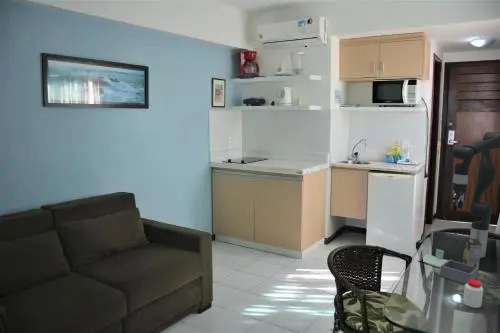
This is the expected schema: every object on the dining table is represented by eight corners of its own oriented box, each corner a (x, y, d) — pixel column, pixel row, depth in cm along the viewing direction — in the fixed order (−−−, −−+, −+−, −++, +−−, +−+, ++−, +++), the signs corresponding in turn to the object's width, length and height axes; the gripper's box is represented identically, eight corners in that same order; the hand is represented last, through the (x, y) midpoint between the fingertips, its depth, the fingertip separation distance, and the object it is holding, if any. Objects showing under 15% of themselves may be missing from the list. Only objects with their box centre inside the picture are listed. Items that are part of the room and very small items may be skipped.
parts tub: (448, 269, 236) (449, 259, 235) (477, 278, 225) (478, 267, 224) (439, 276, 228) (440, 265, 226) (469, 285, 217) (470, 274, 216)
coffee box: (461, 263, 244) (464, 237, 241) (473, 265, 243) (476, 238, 240) (466, 270, 235) (469, 243, 232) (478, 271, 234) (482, 244, 231)
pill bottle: (459, 299, 202) (462, 278, 200) (474, 299, 203) (477, 278, 201) (469, 308, 195) (471, 286, 193) (484, 307, 195) (487, 285, 193)
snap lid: (426, 256, 255) (427, 246, 254) (452, 264, 244) (454, 253, 243) (417, 262, 246) (418, 251, 245) (444, 270, 235) (445, 259, 234)
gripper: (457, 179, 244) (454, 206, 247) (448, 182, 234) (445, 210, 237) (471, 181, 239) (468, 208, 242) (462, 185, 229) (459, 213, 232)
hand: (457, 209), depth 239 cm, fingers open, 8 cm apart
